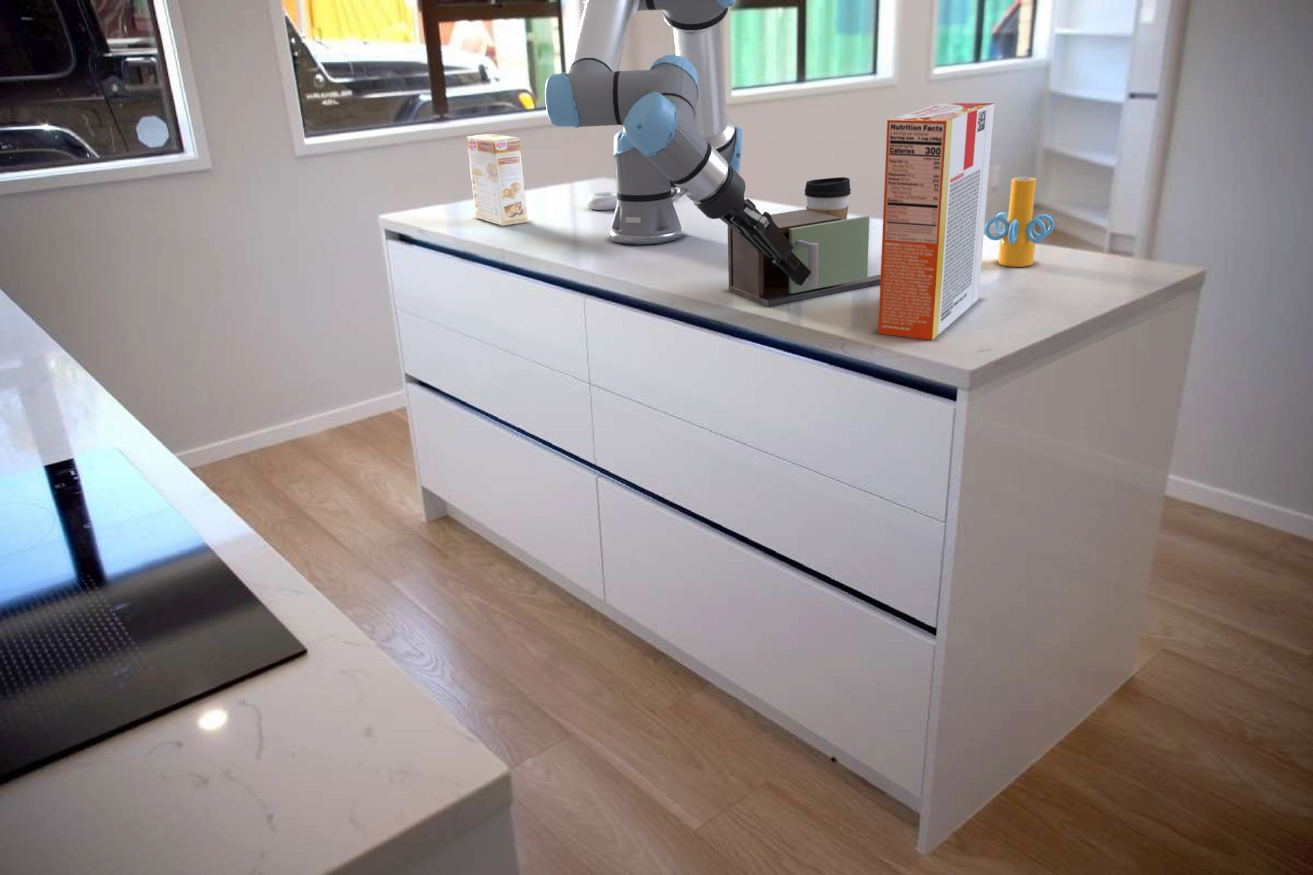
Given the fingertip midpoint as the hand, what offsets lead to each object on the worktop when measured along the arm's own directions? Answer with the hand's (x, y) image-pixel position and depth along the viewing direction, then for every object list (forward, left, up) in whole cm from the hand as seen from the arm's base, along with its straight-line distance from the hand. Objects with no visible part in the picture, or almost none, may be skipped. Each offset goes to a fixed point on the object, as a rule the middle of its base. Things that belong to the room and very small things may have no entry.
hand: (803, 277), depth 158 cm
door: (-8, +4, -4) cm, 10 cm away
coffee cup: (-33, -1, -5) cm, 33 cm away
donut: (-82, -63, -5) cm, 103 cm away
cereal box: (+1, +20, -5) cm, 21 cm away
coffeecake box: (-65, -84, -5) cm, 106 cm away
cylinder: (-34, +33, -5) cm, 47 cm away
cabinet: (-14, -1, -5) cm, 15 cm away
